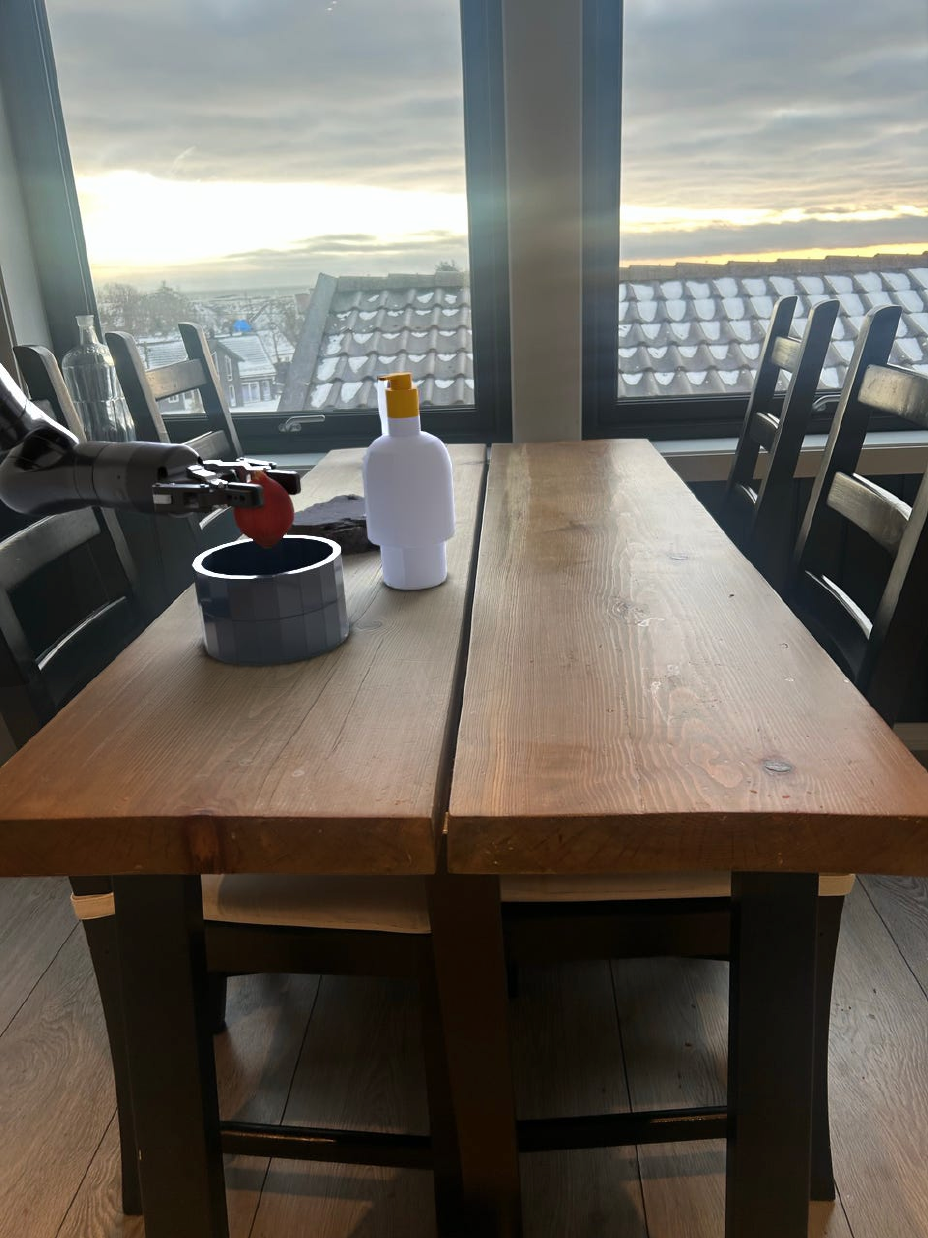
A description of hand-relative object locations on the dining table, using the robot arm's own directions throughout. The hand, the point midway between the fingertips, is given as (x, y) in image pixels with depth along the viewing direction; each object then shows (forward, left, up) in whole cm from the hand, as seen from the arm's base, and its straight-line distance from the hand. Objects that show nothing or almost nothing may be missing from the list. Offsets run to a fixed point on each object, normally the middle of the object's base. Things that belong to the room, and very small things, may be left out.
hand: (279, 490), depth 97 cm
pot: (-1, +2, -16) cm, 16 cm away
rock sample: (+25, +27, -16) cm, 40 cm away
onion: (-1, +2, -6) cm, 7 cm away
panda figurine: (+64, +69, -16) cm, 96 cm away
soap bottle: (+20, +6, -16) cm, 26 cm away
